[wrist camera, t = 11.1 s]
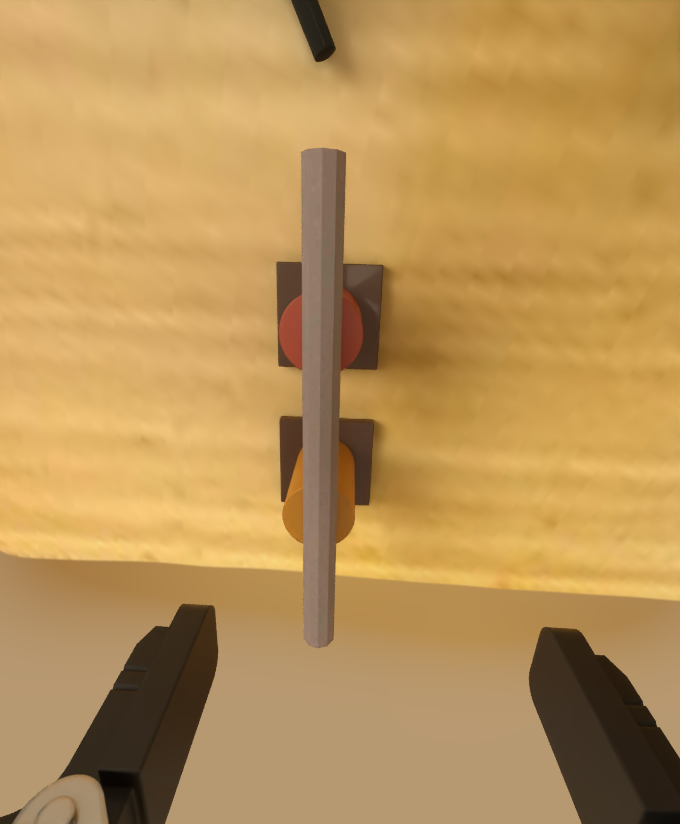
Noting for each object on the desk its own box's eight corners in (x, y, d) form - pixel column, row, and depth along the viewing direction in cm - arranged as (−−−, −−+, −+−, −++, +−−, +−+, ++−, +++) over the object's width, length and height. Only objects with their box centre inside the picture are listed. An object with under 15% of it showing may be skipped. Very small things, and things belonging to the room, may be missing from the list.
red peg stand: (278, 261, 28) (251, 260, 21) (382, 265, 28) (393, 264, 21) (280, 364, 31) (256, 396, 23) (376, 367, 31) (384, 400, 23)
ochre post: (281, 415, 32) (258, 462, 25) (373, 419, 32) (379, 467, 24) (282, 497, 34) (262, 562, 27) (368, 500, 34) (373, 567, 27)
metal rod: (305, 622, 28) (302, 647, 26) (304, 158, 19) (299, 147, 17) (334, 623, 28) (332, 649, 26) (346, 160, 19) (345, 148, 17)
